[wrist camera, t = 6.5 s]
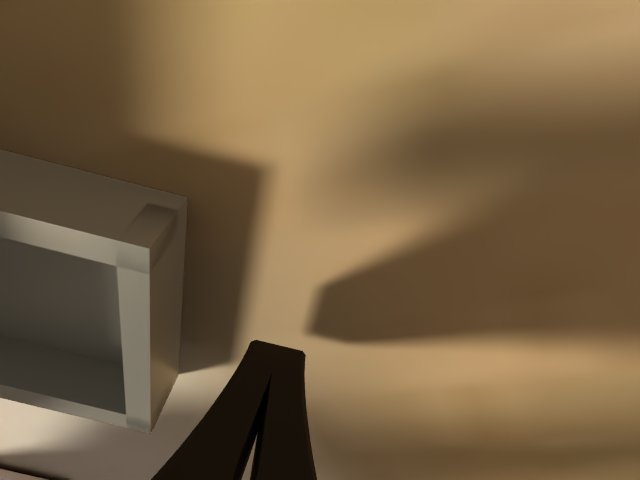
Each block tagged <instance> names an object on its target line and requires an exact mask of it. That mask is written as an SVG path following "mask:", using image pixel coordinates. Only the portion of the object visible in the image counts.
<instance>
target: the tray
mask: <svg viewBox="0 0 640 480" xmlns="http://www.w3.org/2000/svg"><path fill="white" fill-rule="evenodd" d="M187 206H188V197H185V196H181V195H177V194H173V193H169V192H165V191H161V190H158V189H154V188H150V187H146V186H142V185H138V184H134V183H130V182H126V181H122V180H119V179H115V178H111V177H107V176H103V175H99V174H95V173H91V172H87V171H84V170H80V169H76V168H72V167H68V166H64V165H60V164H56V163H52V162H48V161H45V160H41V159H37V158H33V157H29V156H25V155H21V154H17V153H13V152H9V151H6V150H2V149H0V398H4V399H8V400H12V401H17V402H21V403H25V404H29V405H33V406H37V407H41V408H46V409H50V410H54V411H58V412H62V413H66V414H70V415H75V416H79V417H83V418H87V419H91V420H95V421H100V422H104V423H108V424H112V425H116V426H120V427H124V428H129V429H133V430H137V431H141V432H145V433H149V434H151V432H152V430H153V428H154V426H155V423H156V421H157V419H158V417H159V415H160V413H161V411H162V408H163V406H164V404H165V402H166V400H167V398H168V396H169V394H170V391H171V389H172V387H173V385H174V383H175V381H176V379H177V377H178V374H179V356H180V337H181V319H182V300H183V281H184V262H185V244H186V225H187Z"/></svg>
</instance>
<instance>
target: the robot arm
mask: <svg viewBox="0 0 640 480" xmlns="http://www.w3.org/2000/svg"><path fill="white" fill-rule="evenodd" d="M305 356H306V355H305V354H304V353H303V351H300V350H296V349H292V348H288V347H283V346H279V345H275V344H271V343H267V342H262V341H258V340H254V341H252V342H251V343H250V345H249V347H248V349H247V351H246V353H245V355H244V357H243V359H242V361H241V363H240V364H239V366H238V368H237V369H236V371H235V373H234V374H233V376H232V377H231V379H230V380H229V382H228V384H227V385H226V387H225V388H224V389H223V391H222V392H221V394H220V395H219V397H218V398H217V399H216V401H215V402H214V404H213V405H212V406H211V408H210V409H209V411H208V412H207V413H206V415H205V416H204V417H203V419H202V420H201V421H200V422H199V424H198V425H197V426H196V427H195V429H194V430H193V431H192V432H191V434H190V435H189V436H188V437H187V439H186V440H185V441H184V442H183V444H182V445H181V446H180V447H179V448H178V450H177V451H176V452H175V453H174V454H173V456H172V457H171V458H170V459H169V460H168V461H167V462H166V464H165V465H164V466H163V467H162V468H161V469H160V470H159V471H158V472H157V474H156V475H155V476H154V477H153V478H152V479H151V480H241V479H242V476H243V473H244V471H245V468H246V465H247V462H248V459H249V456H250V453H251V450H252V447H253V444H254V442H255V439H256V436H257V440H256V446H255V452H254V458H253V465H252V471H251V477H250V480H317V477H316V472H315V466H314V461H313V455H312V449H311V443H310V435H309V428H308V420H307V411H306V399H305V378H304V372H305ZM257 433H258V434H257ZM0 480H47V479H43V478H39V477H34V476H30V475H26V474H21V473H17V472H13V471H8V470H4V469H0Z"/></svg>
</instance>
